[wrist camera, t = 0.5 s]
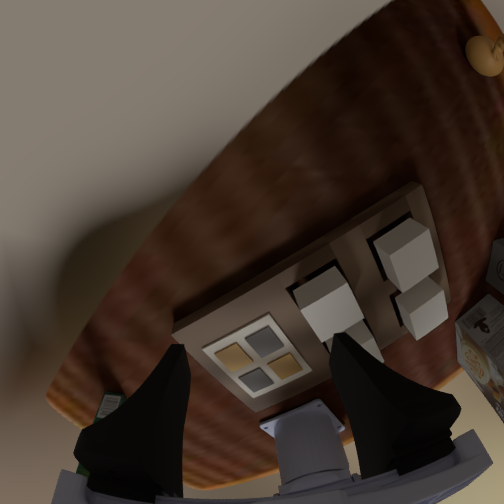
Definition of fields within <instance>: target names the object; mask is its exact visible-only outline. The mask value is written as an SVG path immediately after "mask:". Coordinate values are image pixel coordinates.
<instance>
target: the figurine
mask: <svg viewBox="0 0 504 504" xmlns="http://www.w3.org/2000/svg"><path fill="white" fill-rule="evenodd" d="M503 39H504V34H503V35H499V37H498V39H497V42H496V43H495V42H493V41H492V40H491V39H489V38H487V37H484V36H474V37H472V38H470V39H469V40H468V42H467V44H466V48H465V52H466V57H467V59H468V61H469V63H470V65H471V66H472V67H473V68H474V69H475V70H476V71H477V72H479V73H480V74H482V75H485V76H496V75H498V74H499V73H500V72H501V71H502V69H503V66H504V58H503V54H502V52H503V50H504V43H503V42H502V40H503Z"/></svg>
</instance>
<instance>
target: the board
mask: <svg viewBox="0 0 504 504" xmlns="http://www.w3.org/2000/svg"><path fill="white" fill-rule="evenodd" d="M403 215H404V216H405V219H406V220H407V219H409V218H411V219H413V220H415V221H416V222H418V223H420V224H422V225H423V226H425V227H427V228H429V231H430V235H431V238H432V242H433V246H434V249H435V253H436V257H437V262H438V266H439V268H438V269H436V270H435V271H434V272H432V273H431V274H429V275H428V276H429V277H430V278H431V279H432V280H433V281H434V282H435V283H437V284H438V285H439V286H440V287H441V288H442V289H443V290H444V295H445V301H446V305H447V304H448V303H449V302H451V297H450V291H449V285H448V280H447V275H446V270H445V265H444V260H443V256H442V252H441V247H440V243H439V239H438V235H437V232H436V228H435V224H434V221H433V217H432V214H431V210H430V207H429V204H428V201H427V198H426V195H425V192H424V189H423V186H422V184H419V183H416V182H413V181H410V182H408V183H407V184H405V185H404V186H402V187H401V188H399V189H397V190H396V191H394V192H393V193H391V194H390V195H388V196H386V197H385V198H383V199H382V200H380V201H378V202H377V203H375V204H374V205H372V206H370V207H369V208H367V209H366V210H364V211H362V212H361V213H359V214H358V215H356V216H354V217H353V218H351V219H350V220H348V221H346V222H345V223H343V224H342V225H340V226H338V227H337V228H335V229H333V230H332V231H330V232H329V233H327V234H325V235H324V236H322V237H320V238H319V239H317V240H315V241H314V242H312V243H310V244H309V245H307V246H305V247H304V248H302V249H301V250H299V251H297V252H296V253H294V254H292V255H291V256H289V257H287V258H286V259H284V260H282V261H281V262H279V263H277V264H275V265H274V266H272V267H270V268H269V269H267V270H265V271H264V272H262V273H260V274H259V275H257V276H255V277H254V278H252V279H250V280H248V281H247V282H245V283H243V284H242V285H240V286H238V287H236V288H235V289H233V290H231V291H230V292H228V293H226V294H224V295H223V296H221V297H219V298H217V299H216V300H214V301H212V302H211V303H209V304H207V305H205V306H204V307H202V308H200V309H198V310H197V311H195V312H193V313H191V314H190V315H188V316H186V317H184V318H183V319H181V320H179V321H177V322H175V323H174V325H173V329H172V333H171V335H172V336H173V338H174V339H175V340H176V341H177V342H178V343H179V344H184V346H185V350H186V351H187V352H188V353H189V354H190V355H192V356H193V357H194V358H195V359H196V360H197V361H198V362H199V363H200V364H201V365H202V366H203V367H204V368H205V369H206V370H207V371H208V372H209V373H211V374H212V375H213V376H214V377H215V378H216V379H217V380H218V381H219V382H220V383H222V384H223V385H224V386H225V387H226V388H227V389H228V390H229V391H231V392H232V393H233V394H234V395H235V396H236V397H237V398H239V399H240V400H241V401H242V402H243V403H245V404H246V405H247V406H248V407H249V408H251V409H252V410H253V411H254V412H258V411H260V410H263V409H265V408H268V407H270V406H272V405H275V404H277V403H279V402H282V401H284V400H286V399H288V398H291V397H293V396H295V395H297V394H299V393H302V392H304V391H306V390H308V389H310V388H312V387H314V386H316V385H318V384H320V383H322V382H324V381H326V380H328V379H330V378H332V375H331V371H330V367H329V358H330V351H329V349H328V348H327V346H326V345H325V343H324V342H321V341H320V339H319V338H318V336H317V335H316V333H315V332H314V330H313V329H312V327H311V326H310V324H309V323H308V321H307V320H306V318H305V317H304V316H303V314H302V313H301V311H300V309H299V306H298V303H297V301H296V299H295V298H294V296H293V295H292V293H291V292H290V290H289V289H288V286H290V285H292V284H293V283H295V282H297V281H298V280H300V279H302V278H304V277H305V276H307V275H309V274H310V273H312V272H314V271H315V270H317V269H319V268H320V267H322V266H324V265H325V264H327V263H329V262H330V261H332V260H333V259H335V260H336V262H337V264H338V266H339V268H340V270H341V272H342V274H343V276H344V277H345V279H346V281H347V283H348V285H349V287H350V289H351V291H352V293H353V295H354V297H355V299H356V301H357V303H358V305H359V307H360V310H361V312H362V314H363V316H364V318H365V320H366V323H367V325H368V327H369V329H370V331H371V332H370V333H371V334H372V336H373V337H374V340H375V342H376V344H377V346H378V348H379V351H380V350H381V349H383V348H385V347H386V346H388V345H389V344H391V343H392V342H394V341H396V340H397V339H399V338H400V337H402V336H403V335H405V334H406V333H408V332H409V330H408V329H407V327H406V326H405V325H404V323H403V320H402V317H401V314H399V315H397V316H396V314H395V311H394V308H393V305H392V303H391V300H390V297H389V295H391V294H392V293H394V292H395V291H397V290H398V288H397V287H396V286H395V285H394V284H393V283H392V282H391V280H390V279H389V278H388V277H387V275H386V272H385V270H384V268H383V269H382V270H380V271H379V269H378V267H377V264H376V262H375V260H374V257H373V255H372V252H371V250H370V248H369V246H368V243H367V241H366V239H367V238H369V237H370V236H372V235H373V234H375V233H377V232H378V231H380V230H381V229H383V228H384V227H386V226H387V225H389V224H390V223H392V222H393V221H395V220H396V219H398V218H400V217H401V216H403Z"/></svg>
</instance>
